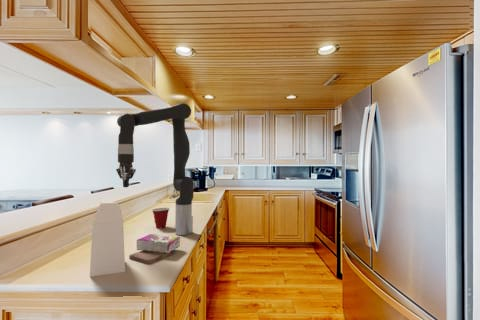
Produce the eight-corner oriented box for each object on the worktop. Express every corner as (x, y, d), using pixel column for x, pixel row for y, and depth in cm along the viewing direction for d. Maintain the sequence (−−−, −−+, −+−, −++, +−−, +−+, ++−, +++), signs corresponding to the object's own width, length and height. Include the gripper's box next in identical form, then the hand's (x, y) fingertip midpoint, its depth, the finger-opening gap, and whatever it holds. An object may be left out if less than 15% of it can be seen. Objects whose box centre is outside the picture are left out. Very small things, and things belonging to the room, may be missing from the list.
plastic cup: (158, 224, 180) (158, 206, 180) (172, 226, 177) (172, 207, 177) (147, 228, 170) (148, 209, 170) (162, 230, 167) (163, 210, 167)
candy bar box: (150, 233, 136) (180, 236, 132) (150, 243, 136) (180, 246, 132) (136, 239, 125) (168, 242, 121) (136, 250, 125) (168, 254, 121)
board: (154, 249, 131) (154, 246, 131) (172, 254, 125) (172, 250, 125) (129, 258, 119) (129, 255, 119) (148, 264, 113) (148, 260, 113)
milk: (89, 276, 100) (90, 205, 100) (92, 265, 111) (93, 201, 111) (125, 271, 105) (125, 203, 105) (124, 261, 116) (125, 199, 116)
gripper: (140, 153, 140) (140, 187, 140) (124, 153, 147) (124, 185, 147) (127, 153, 133) (127, 188, 134) (111, 153, 140) (111, 187, 140)
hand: (125, 187), depth 140 cm, fingers closed
